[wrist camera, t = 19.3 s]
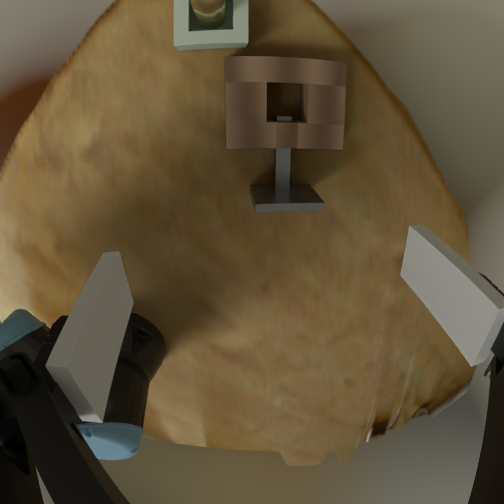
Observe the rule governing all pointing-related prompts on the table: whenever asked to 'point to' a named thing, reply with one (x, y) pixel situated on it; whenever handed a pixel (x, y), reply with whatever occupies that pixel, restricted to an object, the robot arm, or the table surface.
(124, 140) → the table surface
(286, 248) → the table surface
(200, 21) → the peg
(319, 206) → the grey t-shaped plug
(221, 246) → the table surface
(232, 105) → the socket block
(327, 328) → the table surface
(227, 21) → the hollow square block
